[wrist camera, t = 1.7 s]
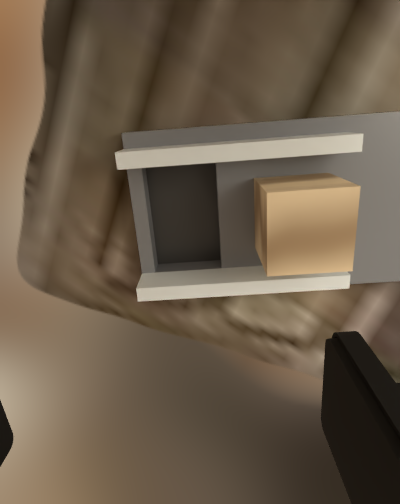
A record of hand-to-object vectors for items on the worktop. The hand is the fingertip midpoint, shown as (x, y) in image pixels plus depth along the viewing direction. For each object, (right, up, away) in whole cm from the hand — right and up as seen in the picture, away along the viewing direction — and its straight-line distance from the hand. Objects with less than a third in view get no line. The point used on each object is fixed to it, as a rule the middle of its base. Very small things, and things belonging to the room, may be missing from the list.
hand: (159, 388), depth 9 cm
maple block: (+7, +6, +15) cm, 18 cm away
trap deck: (+9, +7, +17) cm, 20 cm away
